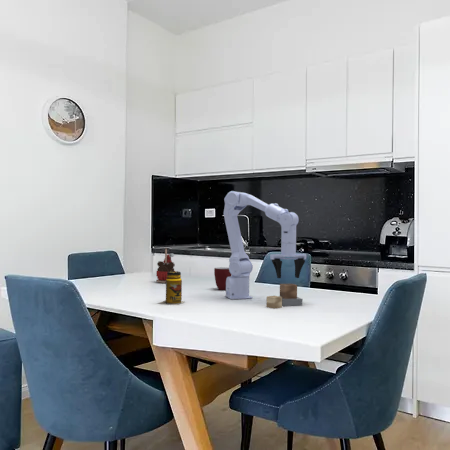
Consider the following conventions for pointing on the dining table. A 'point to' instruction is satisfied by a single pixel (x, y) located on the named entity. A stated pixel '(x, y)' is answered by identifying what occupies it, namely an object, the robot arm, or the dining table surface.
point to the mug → (221, 277)
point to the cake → (164, 267)
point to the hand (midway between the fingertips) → (288, 277)
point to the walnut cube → (288, 291)
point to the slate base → (292, 302)
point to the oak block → (274, 302)
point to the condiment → (173, 288)
